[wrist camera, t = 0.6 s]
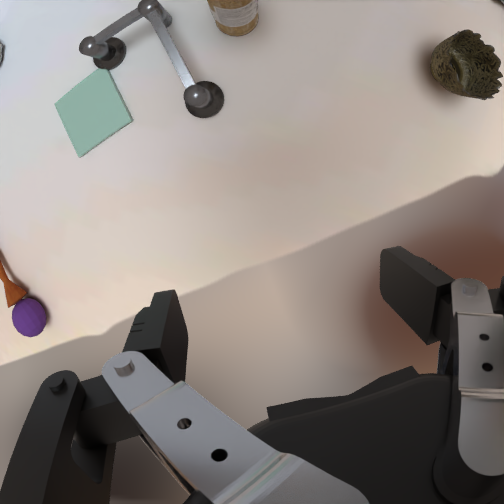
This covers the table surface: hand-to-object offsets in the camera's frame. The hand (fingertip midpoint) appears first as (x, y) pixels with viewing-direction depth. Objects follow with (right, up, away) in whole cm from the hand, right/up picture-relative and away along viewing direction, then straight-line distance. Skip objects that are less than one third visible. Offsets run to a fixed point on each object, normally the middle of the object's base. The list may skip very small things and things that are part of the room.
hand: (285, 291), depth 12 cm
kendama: (-39, -2, +27) cm, 48 cm away
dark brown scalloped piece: (+21, +23, +15) cm, 35 cm away
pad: (-19, +18, +18) cm, 32 cm away
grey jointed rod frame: (-12, +21, +17) cm, 29 cm away
